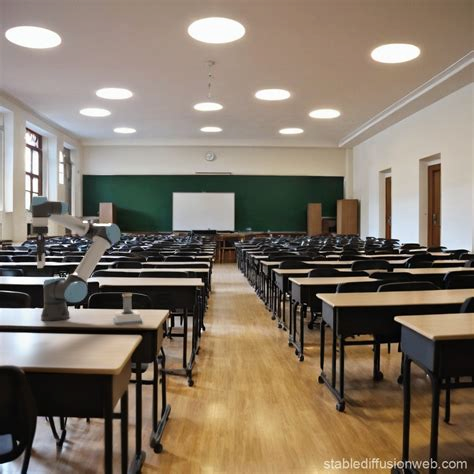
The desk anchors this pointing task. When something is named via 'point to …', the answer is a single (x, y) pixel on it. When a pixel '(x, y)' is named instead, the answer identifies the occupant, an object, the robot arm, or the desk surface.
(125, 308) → the grey metal peg
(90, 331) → the desk surface
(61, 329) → the desk surface
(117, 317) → the socket block
